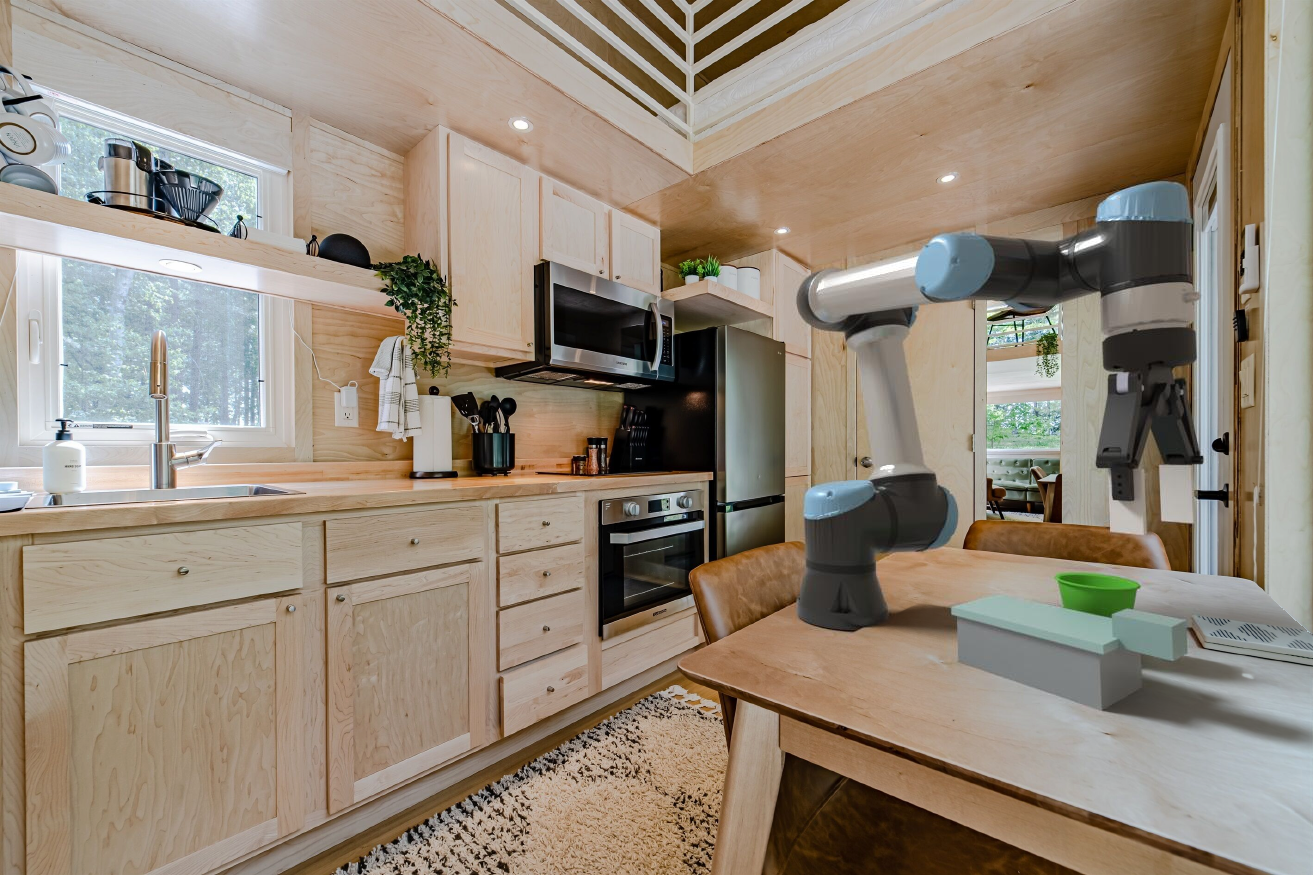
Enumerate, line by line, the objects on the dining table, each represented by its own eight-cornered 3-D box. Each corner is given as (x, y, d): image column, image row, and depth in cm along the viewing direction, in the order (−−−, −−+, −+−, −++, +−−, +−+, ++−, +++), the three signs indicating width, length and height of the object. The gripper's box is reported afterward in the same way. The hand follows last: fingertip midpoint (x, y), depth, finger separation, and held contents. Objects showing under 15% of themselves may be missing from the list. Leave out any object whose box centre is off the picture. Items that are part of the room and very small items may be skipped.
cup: (1162, 678, 67) (1158, 589, 67) (1079, 673, 69) (1076, 587, 69) (1116, 651, 76) (1113, 573, 76) (1043, 647, 78) (1041, 571, 78)
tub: (958, 667, 71) (956, 614, 71) (1001, 651, 76) (1000, 602, 77) (1101, 717, 58) (1099, 652, 58) (1142, 693, 63) (1140, 633, 63)
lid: (951, 621, 71) (950, 587, 72) (998, 607, 77) (997, 576, 77) (1159, 679, 53) (1157, 633, 53) (1200, 655, 59) (1198, 614, 59)
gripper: (1144, 310, 49) (1154, 544, 48) (1232, 335, 61) (1241, 521, 61) (1051, 327, 55) (1058, 533, 55) (1148, 347, 68) (1155, 514, 67)
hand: (1154, 527), depth 58 cm, fingers open, 13 cm apart
